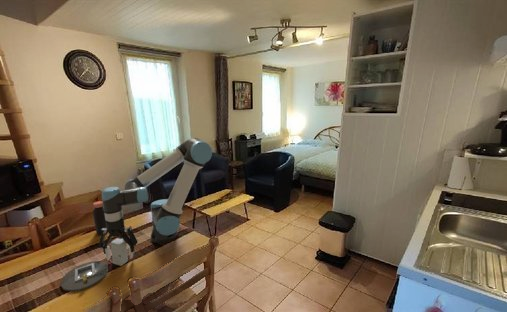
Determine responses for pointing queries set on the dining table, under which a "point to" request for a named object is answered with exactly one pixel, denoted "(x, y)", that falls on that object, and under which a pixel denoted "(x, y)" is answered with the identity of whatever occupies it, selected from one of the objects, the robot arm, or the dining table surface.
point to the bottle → (99, 217)
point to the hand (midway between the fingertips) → (120, 258)
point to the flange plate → (91, 281)
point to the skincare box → (119, 251)
